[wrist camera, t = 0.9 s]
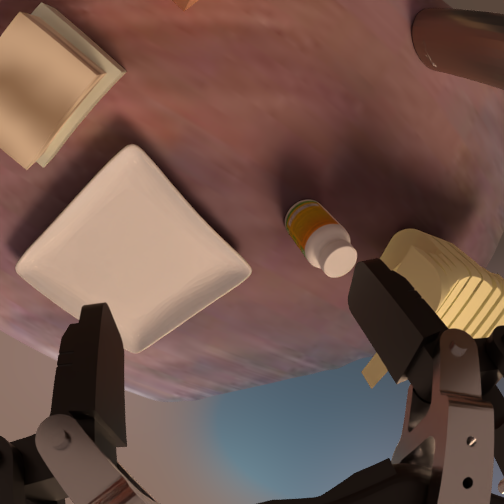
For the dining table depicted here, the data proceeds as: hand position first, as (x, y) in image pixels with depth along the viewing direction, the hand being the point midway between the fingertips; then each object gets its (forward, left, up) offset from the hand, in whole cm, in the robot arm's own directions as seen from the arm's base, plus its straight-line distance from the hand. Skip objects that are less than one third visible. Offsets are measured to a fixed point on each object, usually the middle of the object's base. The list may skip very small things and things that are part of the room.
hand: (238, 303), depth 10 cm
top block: (+5, -14, -21) cm, 25 cm away
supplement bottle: (-3, +18, -25) cm, 31 cm away
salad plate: (+15, +6, -26) cm, 30 cm away
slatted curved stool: (-11, +40, -25) cm, 49 cm away
